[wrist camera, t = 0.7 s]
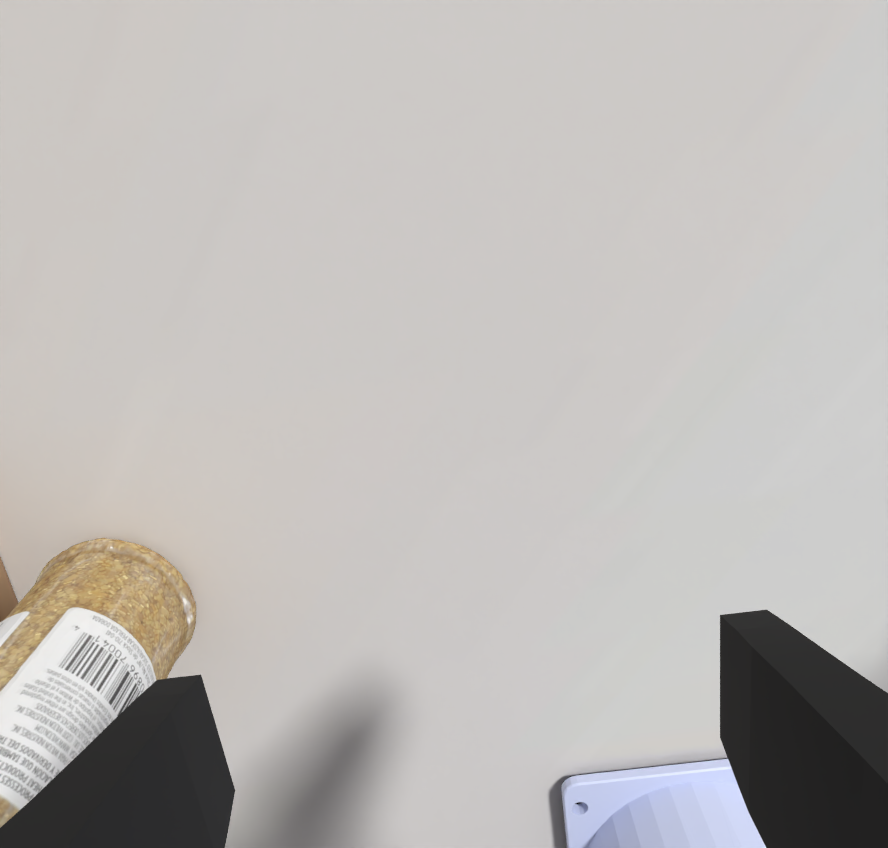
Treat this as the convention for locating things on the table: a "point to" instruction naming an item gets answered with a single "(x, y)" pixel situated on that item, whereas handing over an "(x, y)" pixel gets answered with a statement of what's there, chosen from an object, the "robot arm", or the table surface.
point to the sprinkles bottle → (83, 656)
